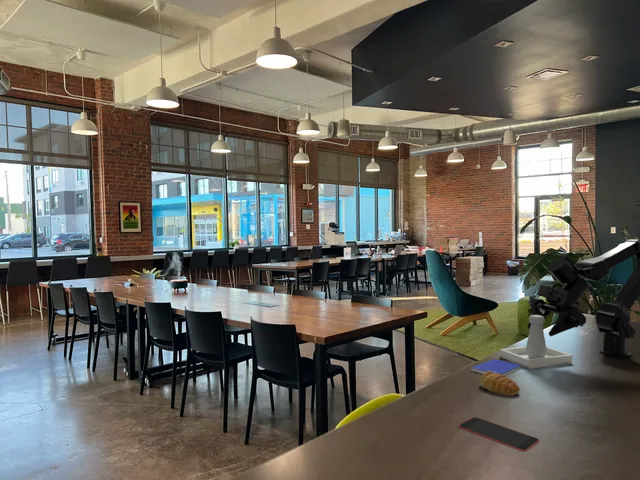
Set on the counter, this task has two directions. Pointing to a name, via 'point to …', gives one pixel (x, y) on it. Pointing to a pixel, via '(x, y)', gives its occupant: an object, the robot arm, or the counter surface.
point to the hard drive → (496, 367)
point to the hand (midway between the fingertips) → (538, 331)
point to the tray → (522, 358)
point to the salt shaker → (536, 338)
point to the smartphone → (499, 434)
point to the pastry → (499, 384)
